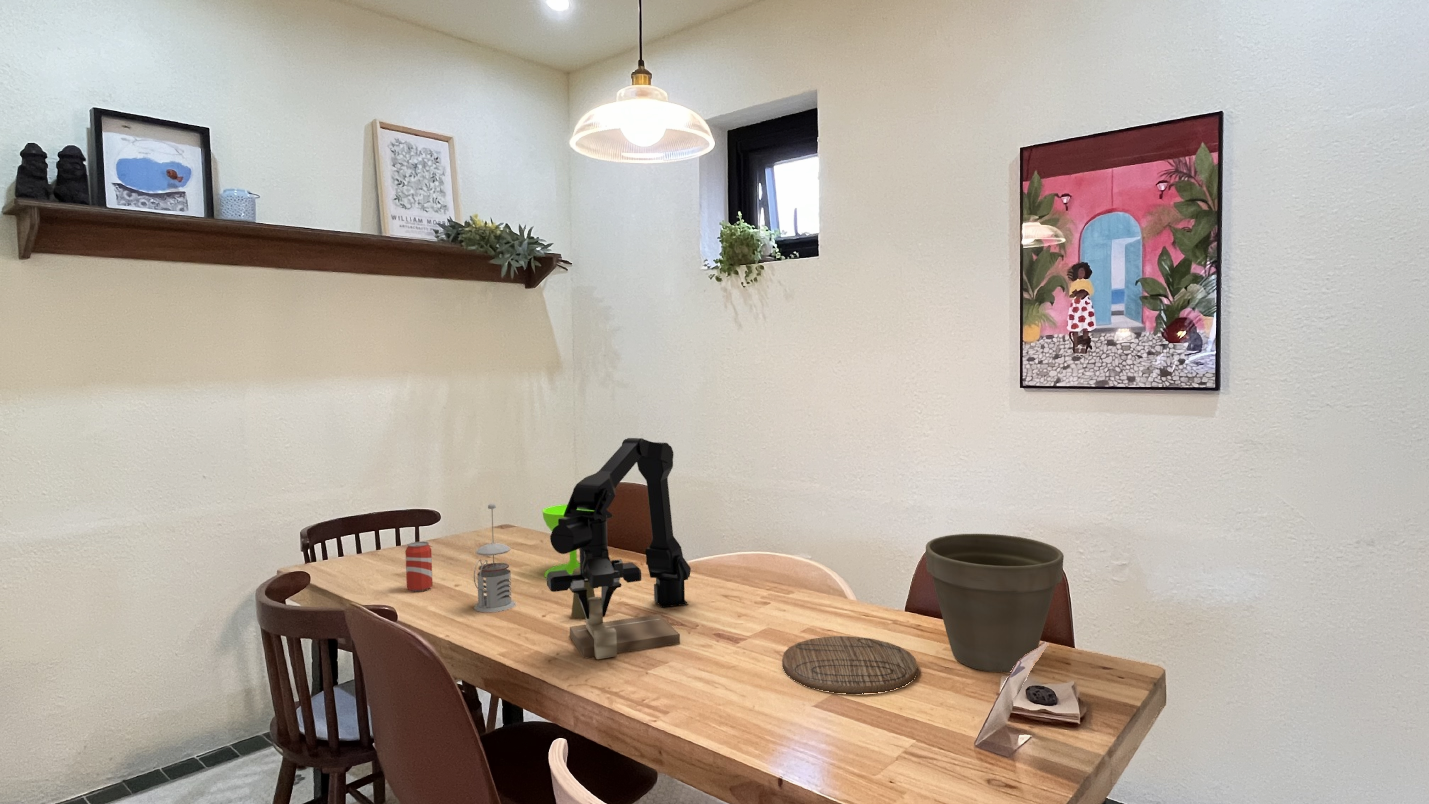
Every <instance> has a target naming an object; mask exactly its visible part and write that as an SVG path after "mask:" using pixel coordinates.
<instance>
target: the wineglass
mask: <svg viewBox="0 0 1429 804" xmlns="http://www.w3.org/2000/svg"><path fill="white" fill-rule="evenodd" d="M567 505H568V504H561V505H554V506H553V505H552V506H549V507H546V508H543V509H542V511H541V512H542V517H543V520H544V522H545V524H546V526H547V528H548V529H549V530H550V531H551V532H552V530H553V529H554V528H555V527H556V526H557V525H558V519H560V518H567V517H564V513H565V510H566V508H567ZM577 510H581V509H578V508H577ZM586 511H593V510H586ZM577 550H578V549H577ZM577 550H575V551H572V552H569V561H568V563H563V564H558V565H555V566H553V567H550V568H548V569H547V570H546V571H545V572H544V578H545V577H546V578H545V579H547V574H548V573H549V572H552V571H561V570H566V571H567V572H568V574H572V573H573V571H574V569H576V568H578V567H580V562H579V561H578V557H577V555H578V554H577Z"/></svg>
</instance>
